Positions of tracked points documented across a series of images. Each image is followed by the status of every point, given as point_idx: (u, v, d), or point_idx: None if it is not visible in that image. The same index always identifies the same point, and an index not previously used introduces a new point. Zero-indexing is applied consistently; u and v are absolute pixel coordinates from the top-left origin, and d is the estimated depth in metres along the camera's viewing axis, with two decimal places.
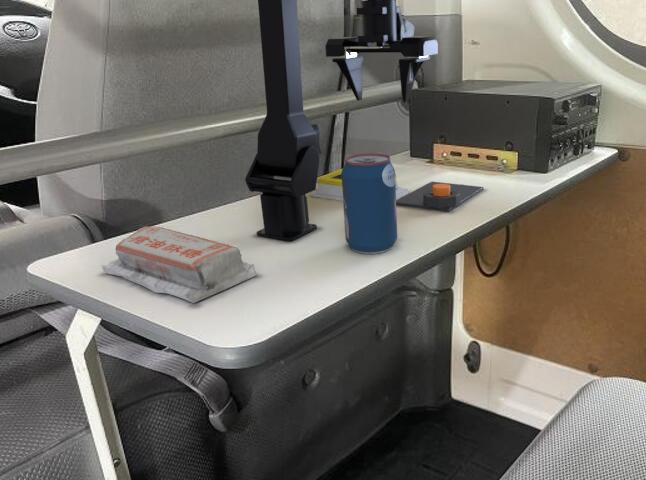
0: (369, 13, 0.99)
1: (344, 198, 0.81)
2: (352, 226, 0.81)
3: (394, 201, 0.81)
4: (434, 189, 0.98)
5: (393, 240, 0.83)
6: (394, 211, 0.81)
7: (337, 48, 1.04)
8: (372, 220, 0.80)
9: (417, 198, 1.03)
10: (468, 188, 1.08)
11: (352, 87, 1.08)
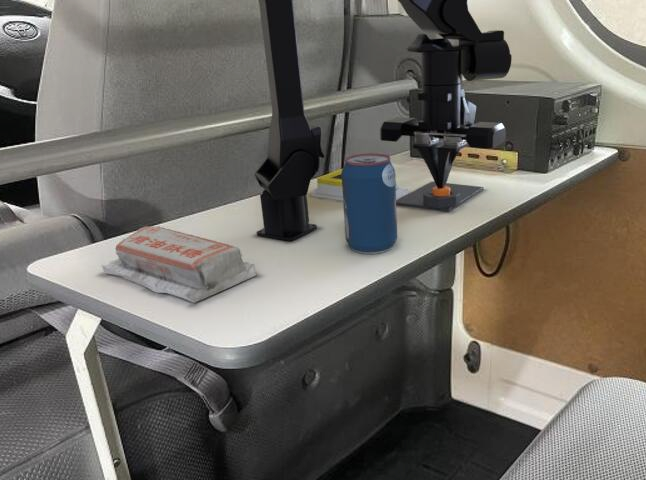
0: (431, 100, 0.91)
1: (344, 198, 0.81)
2: (352, 226, 0.81)
3: (394, 201, 0.81)
4: (434, 191, 0.99)
5: (393, 240, 0.83)
6: (394, 211, 0.81)
7: (394, 133, 0.96)
8: (372, 220, 0.80)
9: (417, 198, 1.03)
10: (468, 188, 1.08)
11: (433, 175, 0.97)
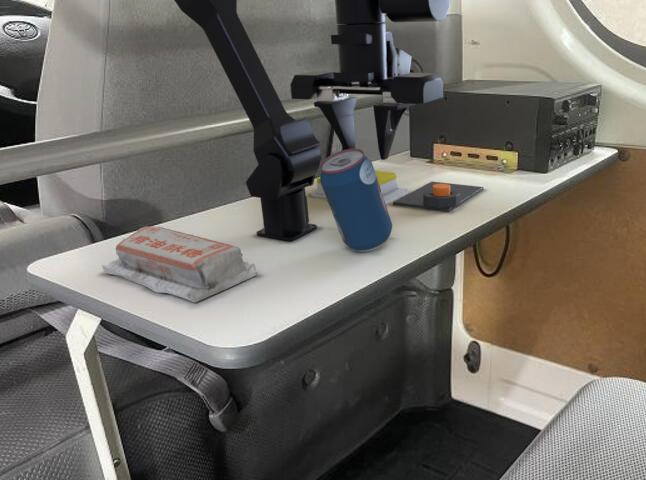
0: (347, 43, 0.72)
1: (329, 204, 0.80)
2: (344, 229, 0.80)
3: (379, 194, 0.79)
4: (434, 189, 0.98)
5: (389, 231, 0.82)
6: (382, 204, 0.80)
7: (306, 88, 0.77)
8: (362, 221, 0.79)
9: (417, 198, 1.03)
10: (468, 188, 1.08)
11: (341, 140, 0.79)
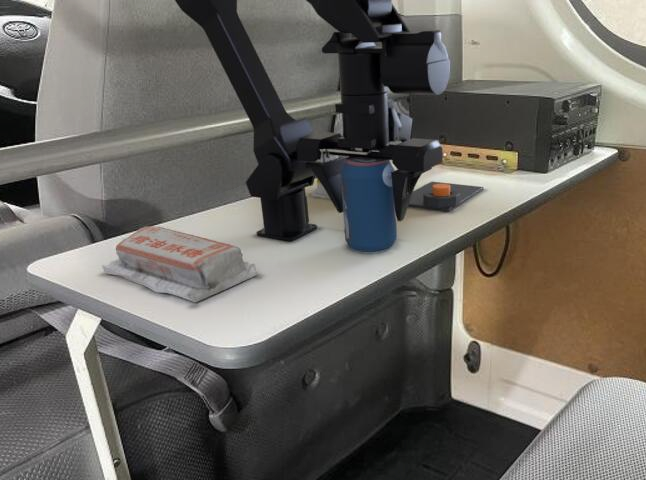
0: (351, 112, 0.75)
1: (344, 198, 0.81)
2: (352, 226, 0.81)
3: None
4: (434, 189, 0.98)
5: (393, 240, 0.83)
6: (394, 211, 0.82)
7: (311, 151, 0.80)
8: (372, 220, 0.80)
9: (417, 198, 1.03)
10: (468, 188, 1.08)
11: (332, 198, 0.83)
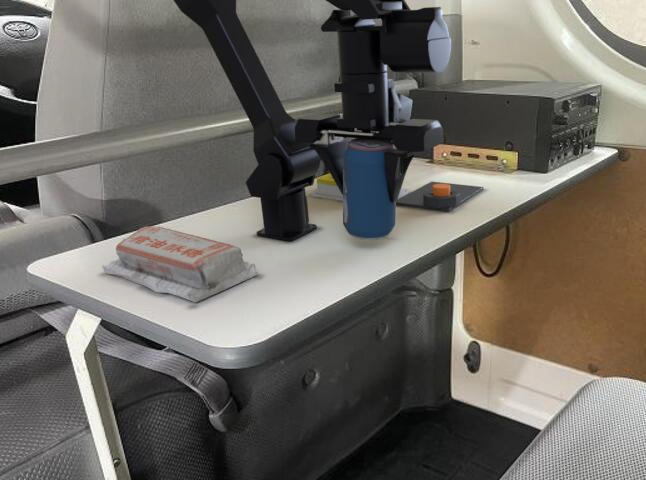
0: (350, 91, 0.74)
1: (345, 182, 0.80)
2: (351, 210, 0.80)
3: None
4: (434, 189, 0.98)
5: (391, 227, 0.82)
6: None
7: (310, 132, 0.79)
8: (372, 206, 0.79)
9: (417, 198, 1.03)
10: (468, 188, 1.08)
11: (336, 181, 0.82)
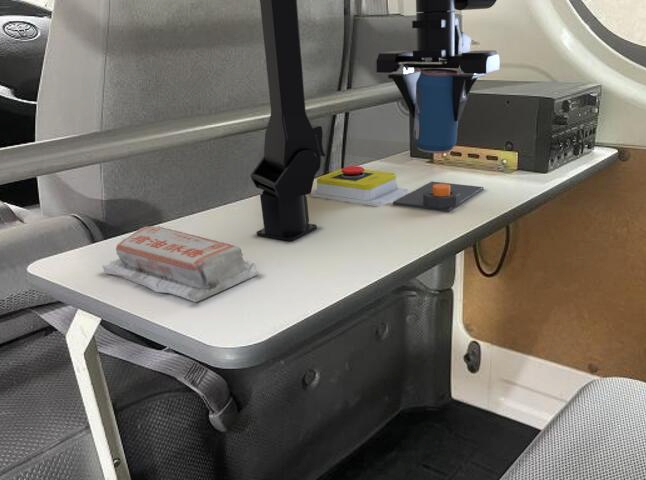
0: (426, 27, 0.92)
1: (417, 104, 0.98)
2: (423, 127, 0.98)
3: None
4: (434, 189, 0.98)
5: (454, 143, 1.00)
6: None
7: (389, 63, 0.97)
8: (440, 123, 0.97)
9: (417, 198, 1.03)
10: (468, 188, 1.08)
11: (409, 105, 1.00)
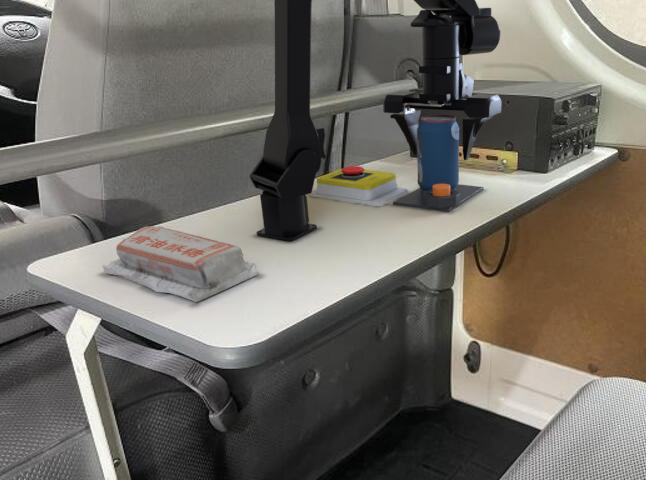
0: (432, 72, 0.97)
1: (419, 149, 1.03)
2: (426, 171, 1.03)
3: (458, 151, 1.04)
4: (434, 189, 0.98)
5: (456, 183, 1.05)
6: (458, 159, 1.04)
7: (396, 105, 1.02)
8: (442, 166, 1.02)
9: (417, 198, 1.03)
10: (468, 188, 1.08)
11: (410, 143, 1.05)
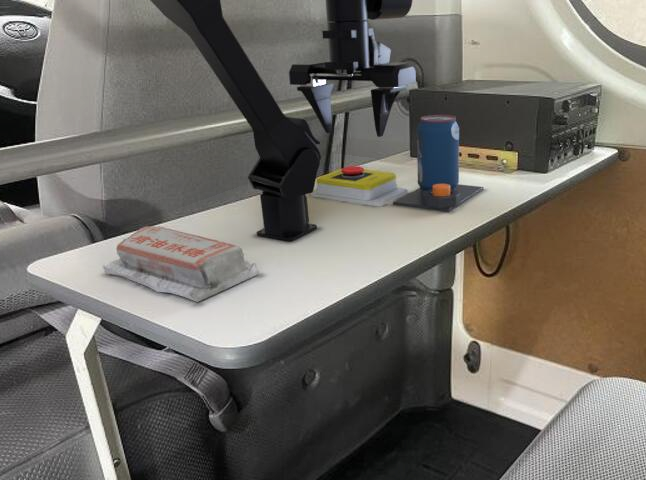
0: (336, 37, 0.87)
1: (419, 149, 1.03)
2: (426, 171, 1.03)
3: (458, 151, 1.04)
4: (434, 189, 0.98)
5: (456, 183, 1.05)
6: (458, 159, 1.04)
7: (302, 75, 0.92)
8: (442, 166, 1.02)
9: (417, 198, 1.03)
10: (468, 188, 1.08)
11: (320, 118, 0.95)
